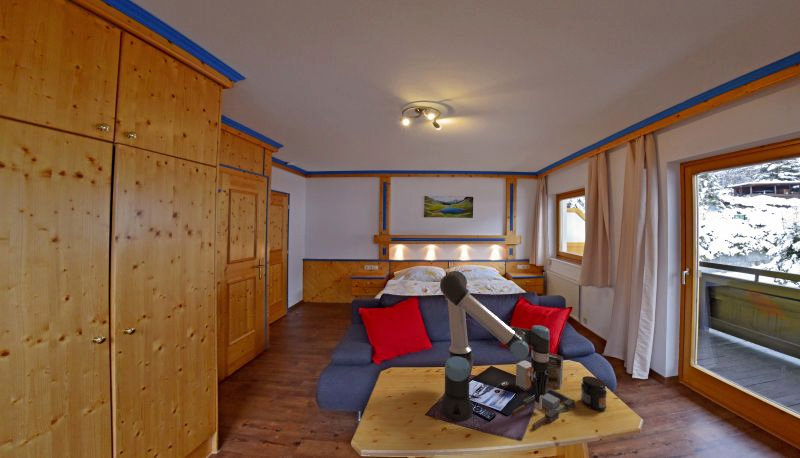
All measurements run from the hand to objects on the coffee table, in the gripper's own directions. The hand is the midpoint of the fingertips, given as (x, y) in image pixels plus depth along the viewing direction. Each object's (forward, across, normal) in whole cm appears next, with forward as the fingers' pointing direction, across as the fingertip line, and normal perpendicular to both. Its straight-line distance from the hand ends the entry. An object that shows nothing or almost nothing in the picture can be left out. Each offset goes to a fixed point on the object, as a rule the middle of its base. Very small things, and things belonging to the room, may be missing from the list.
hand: (538, 407), depth 132 cm
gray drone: (+2, +3, -1) cm, 4 cm away
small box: (+2, +14, +15) cm, 21 cm away
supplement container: (+2, +29, -12) cm, 32 cm away
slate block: (+2, +9, -1) cm, 9 cm away
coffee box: (+2, +30, +9) cm, 32 cm away
